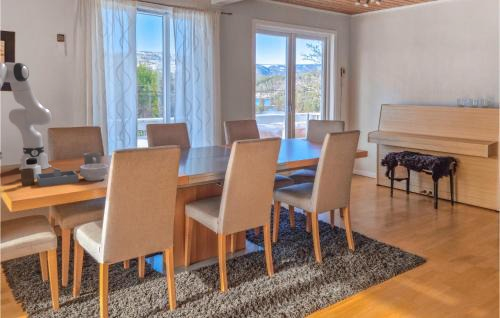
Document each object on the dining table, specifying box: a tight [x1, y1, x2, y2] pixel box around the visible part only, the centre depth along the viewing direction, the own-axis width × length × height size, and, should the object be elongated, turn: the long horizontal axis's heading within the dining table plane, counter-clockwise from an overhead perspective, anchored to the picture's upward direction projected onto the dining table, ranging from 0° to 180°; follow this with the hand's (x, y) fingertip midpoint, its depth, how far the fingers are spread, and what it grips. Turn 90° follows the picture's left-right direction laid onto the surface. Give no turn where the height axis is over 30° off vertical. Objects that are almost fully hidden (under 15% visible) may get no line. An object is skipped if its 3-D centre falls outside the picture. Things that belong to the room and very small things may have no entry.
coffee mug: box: [83, 152, 102, 165], centre depth 268 cm, size 13×10×10 cm
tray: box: [36, 166, 80, 188], centre depth 234 cm, size 15×20×8 cm
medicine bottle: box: [23, 158, 42, 180], centre depth 243 cm, size 7×7×12 cm
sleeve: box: [19, 168, 36, 187], centre depth 227 cm, size 6×6×9 cm
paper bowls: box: [79, 163, 109, 182], centre depth 241 cm, size 15×15×8 cm
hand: (1, 156), depth 221 cm, fingers open, 8 cm apart
